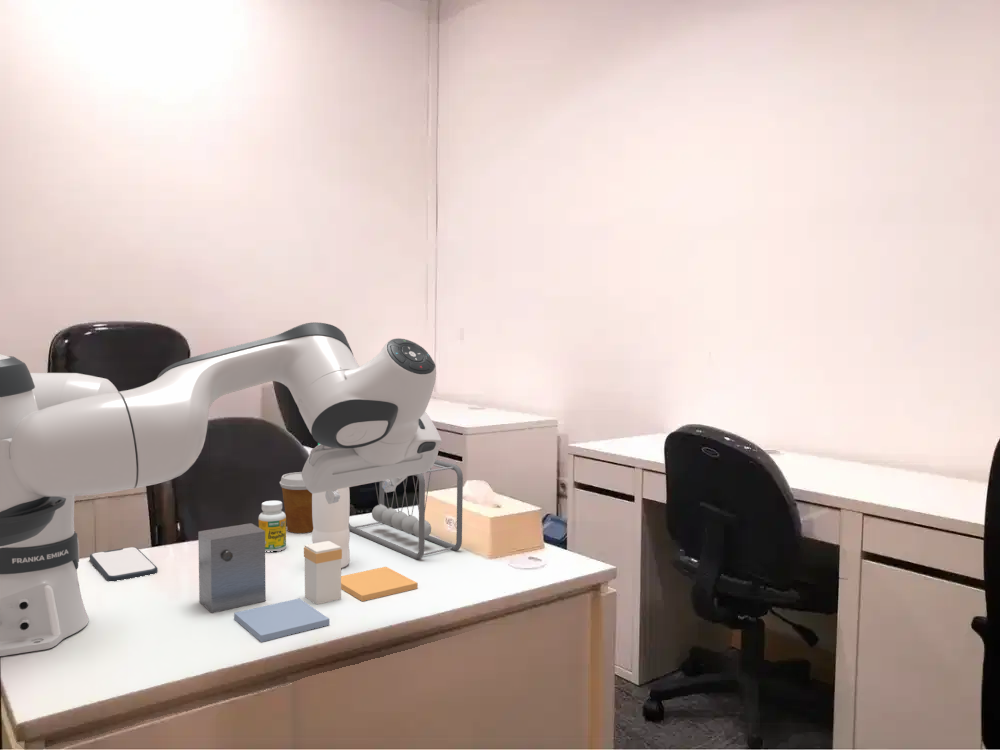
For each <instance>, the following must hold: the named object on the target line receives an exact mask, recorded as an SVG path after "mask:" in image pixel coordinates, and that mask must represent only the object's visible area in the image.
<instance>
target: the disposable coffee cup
mask: <svg viewBox="0 0 1000 750" xmlns="http://www.w3.org/2000/svg"><path fill="white" fill-rule="evenodd" d="M279 485H280V487H281V492H282V499H283V507H284V513H285V515H286V531H288V532H289V531H290V532H289V533H292V532H293V533H294V534H307V533H312V532H313V520H312V493H311V492H309V491H308V490H307V488H306V486H305V484H304V482H303V479H302V471H299V472H289V473H285V474H283V475H282V476H281V478H280V481H279ZM293 533H292V534H293Z"/></svg>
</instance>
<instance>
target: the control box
mask: <svg viewBox="0 0 1000 750" xmlns="http://www.w3.org/2000/svg"><path fill="white" fill-rule="evenodd" d="M197 532H198V534H197V535H198V539H197V540H198V591H199V592H198V598H199V603H200V604H201V605H202V606H203V607H205V608H206V609H207V610H208V611H209V612H210V613H212V614H213V613H218V612H223V611H228V610H232V609H236V608H241V607H245V606H250V605H255V604H259V603H264V602H266V599H267V597H266V595H267V594H266V552H265V531H264V530H262V529H261V528H259V526H257V525H256V524H253V523H245V524H239V525H231V526H225V527H218V528H212V529H206V530H200V531H197Z"/></svg>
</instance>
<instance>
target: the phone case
mask: <svg viewBox="0 0 1000 750" xmlns="http://www.w3.org/2000/svg"><path fill="white" fill-rule="evenodd" d="M90 561H91V562H90ZM89 562H90V563H91V565H93V567H94V568H95V569H96V570H97V571H98V572H99V574H101V576H102V578H104V579H105V580H106V581H107V582H109V581H114V582H118V581H117V580H120V581H125V580H124V579H126V580H129V579H130V578H131V579H136V578H135V577H137V578H141V577H140V576H142V577H146V576H145V575H148V576H151V575H150V574H153V575H156V574H157V573H158V567H157V565H155V564H154V562H152V561H151V560H150V559H149V558H148V557H147V556H146V555H145V553H143V552H142V551H141V550H139V548H138V547H135V546H129V547H123V548H116V549H112V550H105V551H104V550H103V551H99V552H93V553H91V554H89ZM155 573H156V574H155ZM131 579H130V580H131Z"/></svg>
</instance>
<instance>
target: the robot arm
mask: <svg viewBox="0 0 1000 750" xmlns="http://www.w3.org/2000/svg"><path fill="white" fill-rule="evenodd" d="M436 365H437V364H436V363H435V361H434V360H433V358H432V357H431V355H430V354H429V352H428V351H427V350H426V349H425V348H424V347H422V346H421V345H419V344H418V343H416V342H414V341H411V340H409V339H405V338H399V337H397V338H392V339H390V340H388V341H387V342H386V343H385V344H384V345H383V347H382V348H381V350H380V352H379V353H378V354H377V355H375V356H374V357H373V358H372V359H371V360H369V361H367V362H366V363H364V364H362V365H360V364H359V363H358V361H357V360H356V358H355V357H354V353H353V351H352V348H351V345H350V343H349V342H348V339H347V337H346V335H345V333H344V331H343V330H341V329H340V328H339V327H337V326H335V325H333V324H329V323H325V322H306V323H303V324H300V325H297V326H295V327H292V328H290V329H288V330H285V331H284V332H281V333H278V334H275V335H273V336H270V337H265V338H262V339H258V340H253V341H250V342H245V343H241V344H238V345H235V346H234V345H233V346H230V347H229V346H228V347H226V348H221V349H219V350H218V349H217V350H214V351H211V352H206V353H202V354H198V355H195V356H192V357H189V358H185V359H182V360H180V361H177V362H174V363H172V364H170V365H168V366H167V367H165V368H164V369H162V370H161V372H159V374H158V375H157V377H156V379H155V380H152V381H151V382H148V383H146V384H144V385H141V386H138V387H134V388H131V389H128V390H127V389H126V390H121V391H119V390H118V389H117V387H116V386H115V384H113V382H111V381H110V380H109V379H108V378H103V377H98V376H95V375H90V374H83V373H79V372H30V370H29V368H28V366H27V364H26V363H25V362H24V361H22V360H20V359H19V358H17V357H15V356H10V355H5V354H1V353H0V657H5V656H10V655H18V654H24V653H30V652H37V651H44V650H49V649H51V648H54V647H55V646H57V645H58V644H60V643H61V641H62V640H64V639H65V638H67V637H69V636H72V635H74V634H76V633H78V632H79V631H81V630H82V629H84V628H85V627H86V626H87V625H88V624H89V616H88V614H87V611H86V607H85V604H84V602H83V601H84V600H83V598H82V592H81V588H80V582H79V578H78V577H79V576H78V569H79V562H80V543H79V542H80V541H79V538H78V533H77V532H76V531H75V497H77V496H79V497H81V496H91V495H92V496H93V495H101V494H108V493H115V492H121V491H127V490H133V489H138V488H143V487H148V486H153V485H157V484H160V483H161V484H162V483H165V482H168V481H170V480H174V479H176V478H177V477H180V476H182V475H183V474H184V473H186V472H187V471H188V470H189V469H190V468H191V467H192V466H193V465H194V464H195V463H196V461H197V459H198V458H199V456H200V454H201V453H202V450H203V448H204V444H205V442H206V436H207V431H208V426H209V425H208V423H209V414H210V407H211V406H212V405H213V404H214V402H215V401H216V400H218V399H219V398H220V397H223V396H225V395H229V394H232V393H236V392H237V391H239V392H240V391H242V390H245V389H248V388H249V389H250V388H252V387H256V386H258V385H263V384H266V383H267V384H268V383H269V382H277V383H280V384H282V385H284V386H285V387H287V389H288V390H289V391H290V393H291V396H292V398H293V400H294V402H295V404H296V405H297V408H298V411H299V413H300V415H301V417H302V419H303V421H304V424H305V425H306V427H307V429H308V430H309V433H310V434H311V436H312V438H313V440H314V441H315V442H316V443H317V445H316V446H315V447H313V448H312V449H311V450H310V452H309V456H308V457H307V459H306V461H305V463H304V465H303V468H302V471H301V472H302V479H303V482H304V484H305V486H306V488H307V490H308V491H309V492H311V493H312V494H315V493H321V492H326V494H325V497H326V500H327V502H328V504H332V503H336V502H338V501H339V499H340V494H339V493H338V492H337V491H338V490H337V489H342V488H347V487H349V488H352V487H358V486H361V485H363V486H364V485H367V484H368V485H369V484H372V483H373V484H374V483H375V482H376V483H379V481H384V482H383V483H382V487H383V489H384V493H385V494H386V493H391V492H394V491H395V490H396V488H397V486H399V485H400V484H401V483H402V482H403V480H404V481H405V480H406V479H408V477H410V476H415V474H421V473H422V474H426V473H425V472H427V471H428V470H430V469H431V470H432V468H433V467H434V466H433V465H434V463H435V461H436V460H437V458H438V456H439V455H438V453H439V448H440V447H441V445H442V443H443V440H442V437H441V435H440V433H439V431H438V429H437V427H436V426H435V424H434V422H433V420H432V419H431V417H430V416H429V415H428V413H427V407H428V406H429V403H430V401H431V397H432V395H433V391H434V388H435V384H436V378H437V367H436ZM318 443H319V445H318ZM427 473H428V472H427ZM407 476H408V477H407Z"/></svg>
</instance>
